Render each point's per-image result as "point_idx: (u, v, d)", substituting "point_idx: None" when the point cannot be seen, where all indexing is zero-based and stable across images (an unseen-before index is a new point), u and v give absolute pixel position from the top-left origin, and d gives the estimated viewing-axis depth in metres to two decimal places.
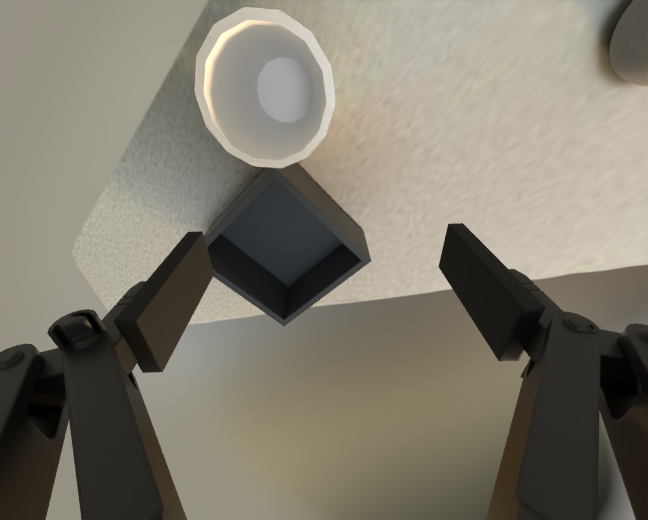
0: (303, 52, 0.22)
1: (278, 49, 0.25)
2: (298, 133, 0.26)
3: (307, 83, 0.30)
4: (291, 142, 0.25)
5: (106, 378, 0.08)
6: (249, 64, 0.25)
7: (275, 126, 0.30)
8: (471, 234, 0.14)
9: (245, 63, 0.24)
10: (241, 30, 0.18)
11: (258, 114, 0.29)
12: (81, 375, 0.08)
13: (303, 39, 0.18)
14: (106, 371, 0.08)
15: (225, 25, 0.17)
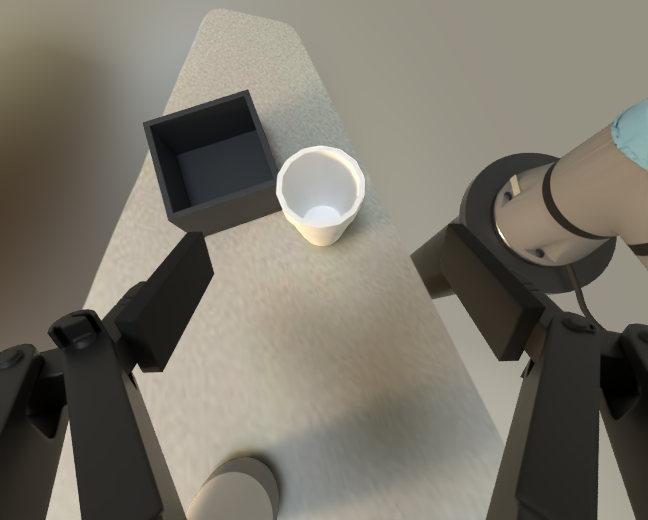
0: None
1: None
2: (293, 209, 0.36)
3: None
4: (290, 198, 0.34)
5: (106, 378, 0.08)
6: (344, 203, 0.38)
7: (305, 204, 0.41)
8: (471, 234, 0.14)
9: (345, 199, 0.37)
10: (356, 191, 0.31)
11: (317, 197, 0.41)
12: (81, 375, 0.08)
13: (337, 218, 0.30)
14: (106, 371, 0.08)
15: (361, 182, 0.30)
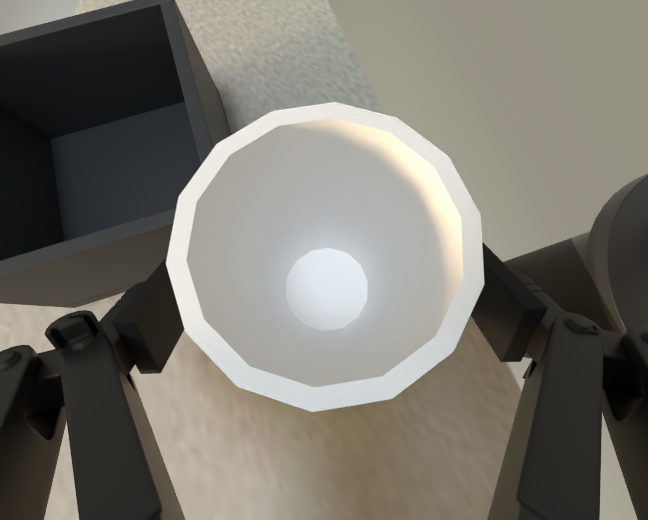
0: (360, 345, 0.12)
1: (377, 305, 0.16)
2: (256, 275, 0.14)
3: (321, 322, 0.20)
4: (241, 254, 0.12)
5: (104, 379, 0.08)
6: (379, 255, 0.17)
7: (291, 250, 0.19)
8: None
9: (383, 250, 0.16)
10: (445, 259, 0.09)
11: (317, 236, 0.19)
12: (78, 376, 0.08)
13: (386, 372, 0.08)
14: (104, 372, 0.08)
15: (470, 232, 0.09)
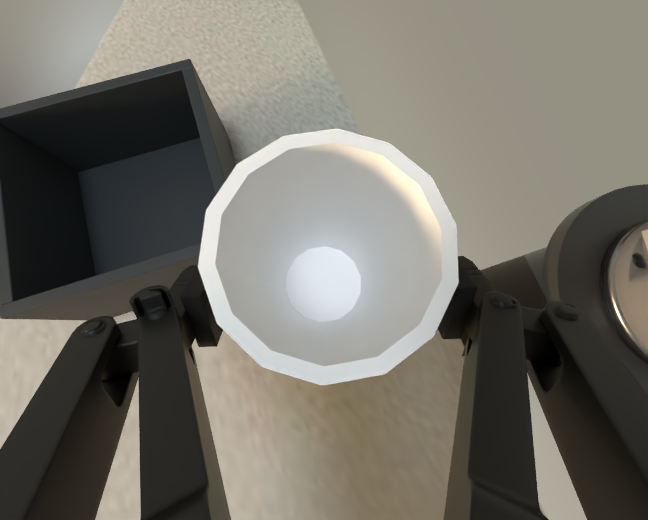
0: (357, 333, 0.14)
1: (370, 298, 0.18)
2: (263, 273, 0.16)
3: (319, 314, 0.22)
4: (252, 255, 0.14)
5: (171, 350, 0.09)
6: (372, 254, 0.18)
7: (291, 249, 0.21)
8: None
9: (376, 250, 0.17)
10: (429, 262, 0.11)
11: (315, 236, 0.21)
12: (151, 344, 0.09)
13: (381, 353, 0.10)
14: (172, 344, 0.09)
15: (448, 241, 0.11)
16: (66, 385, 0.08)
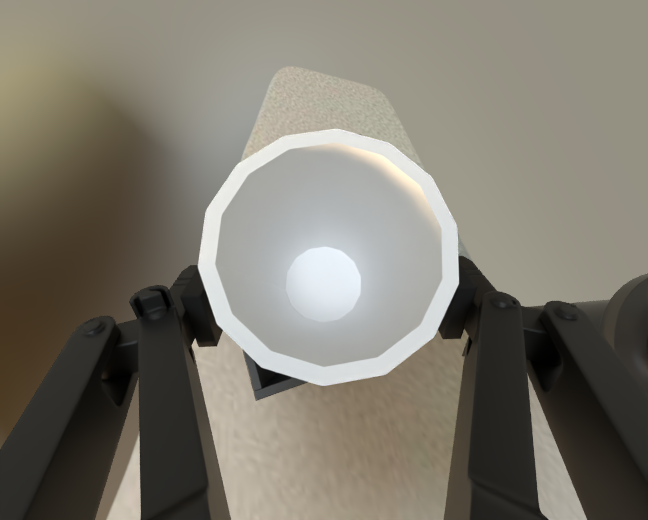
0: (357, 334, 0.14)
1: (370, 299, 0.18)
2: (263, 274, 0.16)
3: (319, 314, 0.22)
4: (252, 256, 0.14)
5: (171, 350, 0.09)
6: (372, 255, 0.18)
7: (291, 249, 0.21)
8: None
9: (376, 250, 0.17)
10: (429, 262, 0.11)
11: (315, 236, 0.20)
12: (152, 343, 0.09)
13: (381, 354, 0.10)
14: (172, 344, 0.09)
15: (448, 241, 0.11)
16: (66, 385, 0.08)
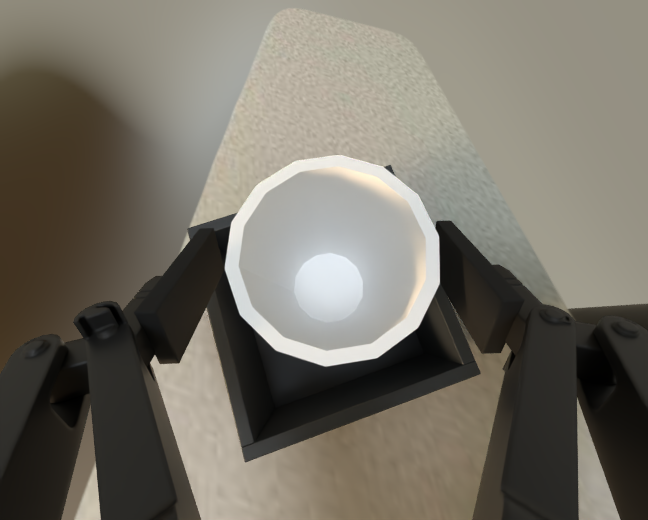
0: (357, 329, 0.16)
1: (370, 300, 0.20)
2: (275, 276, 0.18)
3: (324, 315, 0.24)
4: (266, 260, 0.16)
5: (126, 369, 0.08)
6: (372, 260, 0.21)
7: (300, 255, 0.23)
8: (458, 231, 0.14)
9: (375, 256, 0.20)
10: (416, 266, 0.13)
11: (321, 243, 0.23)
12: (103, 364, 0.08)
13: (374, 341, 0.12)
14: (126, 362, 0.08)
15: (431, 248, 0.13)
16: (8, 411, 0.07)
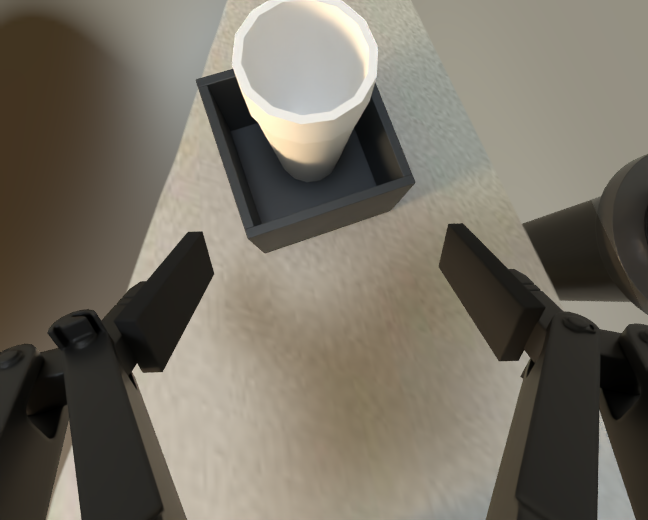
0: None
1: None
2: None
3: None
4: (259, 90, 0.22)
5: (106, 378, 0.08)
6: None
7: None
8: (471, 234, 0.14)
9: None
10: (364, 74, 0.20)
11: (302, 108, 0.28)
12: (81, 375, 0.08)
13: (332, 110, 0.18)
14: (106, 371, 0.08)
15: (372, 54, 0.19)
16: None
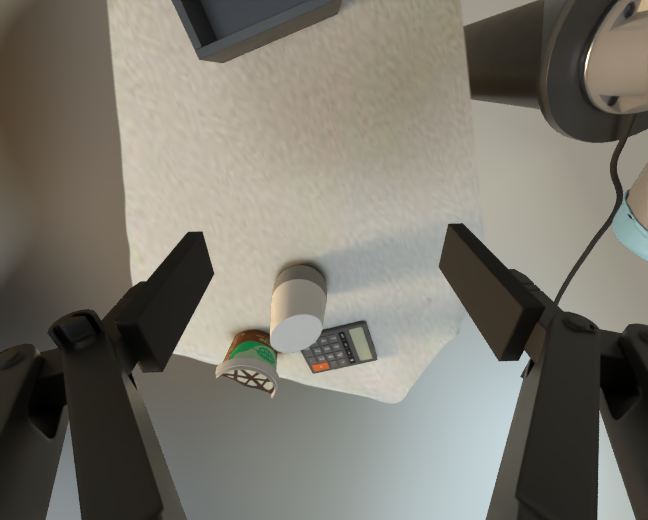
0: None
1: None
2: None
3: None
4: None
5: (106, 378, 0.08)
6: None
7: None
8: (471, 234, 0.14)
9: None
10: None
11: None
12: (81, 375, 0.08)
13: None
14: (106, 371, 0.08)
15: None
16: None
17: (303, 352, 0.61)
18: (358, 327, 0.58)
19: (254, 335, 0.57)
